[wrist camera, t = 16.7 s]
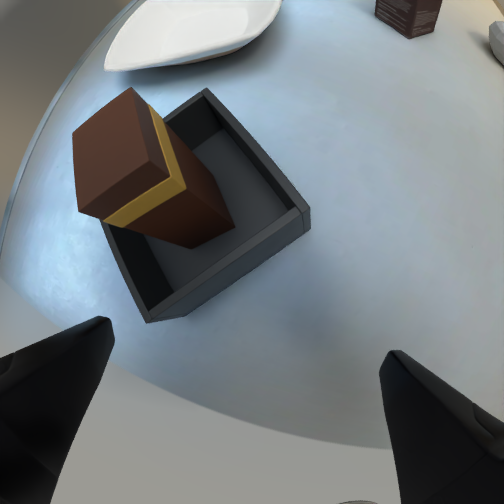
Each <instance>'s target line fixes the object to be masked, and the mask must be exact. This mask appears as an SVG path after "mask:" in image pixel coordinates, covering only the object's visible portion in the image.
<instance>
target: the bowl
mask: <svg viewBox="0 0 504 504" xmlns="http://www.w3.org/2000/svg"><path fill="white" fill-rule="evenodd" d="M282 1H283V0H147V1H146V2H144V3H143V4H142V5H141V6H140V7H139V8H138V9H137V10H136V11H135V12H134V13H133V14H132V15H131V17H130V18H129V19H128V20H127V22H126V23H125V24H124V25H123V27H122V28H121V29H120V31H119V32H118V34H117V36H116V37H115V39H114V41H113V43H112V44H111V46H110V49H109V51H108V53H107V55H106V59H105V65H104V70H105V71H106V72H123V71H129V70H136V69H144V68H151V67H160V66H171V65H182V64H190V63H195V62H200V61H204V60H208V59H212V58H216V57H220V56H224V55H227V54H230V53H233V52H236V51H238V50H239V49H240V48H242V47H243V46H244V45H246V44H247V43H249V42H250V41H252V40H253V39H254V38H256V37H257V36H258V35H260V34H261V33H262V32H263V31H264V30H265V29H266V28H267V27H268V26H269V25H270V23H271V22H272V21H273V20H274V18H275V16H276V15H277V13H278V11H279V9H280V7H281V4H282Z"/></svg>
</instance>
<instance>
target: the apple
mask: <svg viewBox="0 0 504 504" xmlns="http://www.w3.org/2000/svg"><path fill="white" fill-rule="evenodd" d="M489 41H490V46H491V49H492V51H493V53H494V55H495V57H496V58H497V59H498V60H499V61H500V62H501V63H502V64H503V65H504V22H502V21H495V22H494V23H492V24H491V25H490V26H489Z"/></svg>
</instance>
